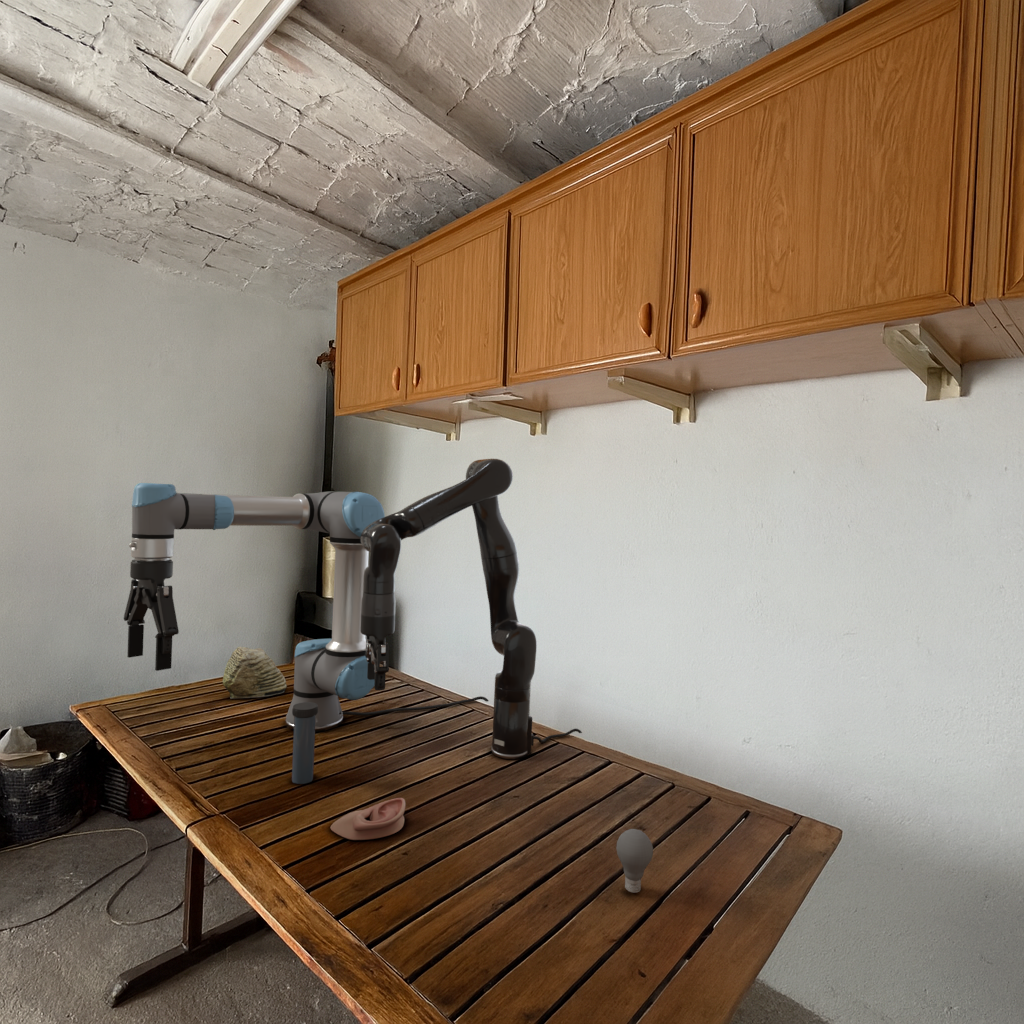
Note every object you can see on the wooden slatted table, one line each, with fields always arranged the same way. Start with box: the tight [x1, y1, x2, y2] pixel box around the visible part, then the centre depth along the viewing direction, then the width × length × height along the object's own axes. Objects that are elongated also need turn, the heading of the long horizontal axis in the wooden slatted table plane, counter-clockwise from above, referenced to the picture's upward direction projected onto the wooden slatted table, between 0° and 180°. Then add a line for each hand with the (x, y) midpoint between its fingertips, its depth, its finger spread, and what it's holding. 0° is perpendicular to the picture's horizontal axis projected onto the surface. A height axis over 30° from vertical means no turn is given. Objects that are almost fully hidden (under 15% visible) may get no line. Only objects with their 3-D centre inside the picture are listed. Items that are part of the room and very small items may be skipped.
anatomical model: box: [330, 797, 407, 841], centre depth 123 cm, size 13×4×12 cm
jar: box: [291, 715, 316, 785], centre depth 141 cm, size 5×5×16 cm
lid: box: [292, 702, 318, 718], centre depth 141 cm, size 5×5×2 cm
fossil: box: [222, 646, 288, 699], centre depth 198 cm, size 9×18×15 cm, turn 132°
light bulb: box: [615, 828, 654, 894], centre depth 106 cm, size 6×6×10 cm
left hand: (148, 662), depth 129 cm, fingers open, 13 cm apart
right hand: (375, 684), depth 142 cm, fingers open, 8 cm apart
